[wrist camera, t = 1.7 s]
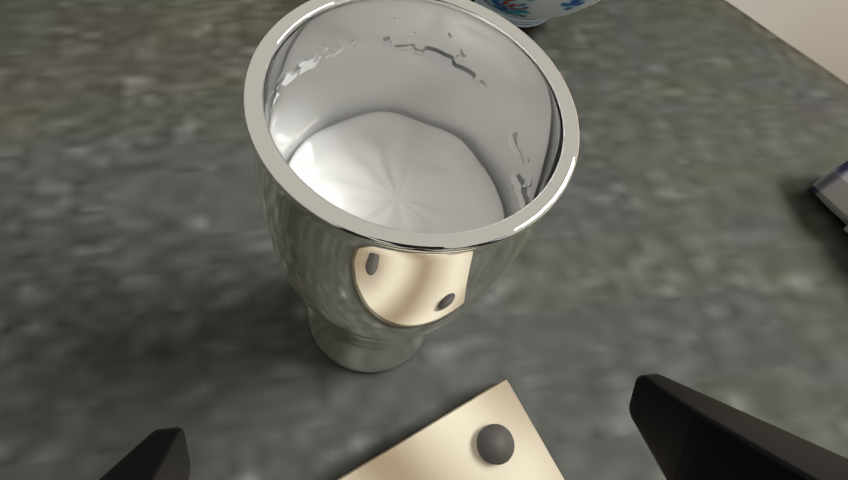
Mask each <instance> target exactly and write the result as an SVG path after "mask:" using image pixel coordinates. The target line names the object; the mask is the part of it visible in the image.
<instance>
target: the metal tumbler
mask: <svg viewBox="0 0 848 480" xmlns="http://www.w3.org/2000/svg"><path fill="white" fill-rule="evenodd" d="M243 103H244V114H245V120H246V125H247V129H248V132H249V135H250V138H251V142H252V148H253V156H254V164H255V172H256V178H257V184H258V190H259V196H260V201H261V206H262V210H263V214H264V218H265V222H266V226H267V230H268V234H269V237H270V240H271V243H272V246H273V248H274V251H275V253H276V255H277V258H278V260H279V263H280V265H281V267H282V269H283V272H284V273H285V275H286V277H287V279H288V281H289V282H290V284H291V285H292V286H293V288H294V289H295V291H296V292H297V293H298V294H299V296H300V297H301V298H302V300H303V301H304V302H305V303H306V305H307V306H308V320H309V326H310V330H311V333H312V335H313V337H314V339H315V341H316V343H317V344H318V346H319V347H320V349H321V350H322V351H323V352H324V353H325V354H326V355H327V356H328V357H329V358H330V359H331V360H333V361H334V362H335V363H337V364H339V365H340V366H342V367H345V368H347V369H350V370H353V371H358V372H366V373H373V372H381V371H386V370H389V369H392V368H395V367H397V366H399V365H401V364H402V363H404V362H405V361H407V360H408V359H409V358H411V357H412V356H413V355H414V354H415V353H416V352H417V351H418V349H419V348H420V347H421V345H422V344H423V342H424V340H425V338H426V336H427V334H428V333H429V332H431V331H434V330H435V329H437V328H439V327H441V326H443V325H445V324H447V323H449V322H451V321H452V320H454V319H456V318H457V317H459V316H460V315H461V314H463V313H464V312H465V311H467V310H468V309H469V308H470V307H471V306H472V305H473V304H475V303H476V302H477V301H478V300H479V299H480V298H481V297H482V296H483V295H484V294H486V293H487V292H488V291H489V290H490V289H491V287H492V286H493V285H494V284H495V283H496V282H497V280H498V279H499V278H500V277H501V276H502V274H503V273H504V272H505V271H506V270H507V269H508V267H509V266H510V265H511V264H512V262H513V261H514V260H515V258H516V257H517V255H518V254H519V253H520V251H521V250H522V248H523V247H524V246H525V244H526V243H527V241H528V240H529V238H530V237H531V235H532V234H533V232H534V231H535V229H536V228H537V226H538V225H539V223H540V222H541V220H542V219H543V217H544V216H545V214H546V213H547V212H548V211H549V210H550V209H551V208H552V207H553V206H554V205H555V204H556V202H557V201H558V200H559V199H560V197H561V196H562V194H563V193H564V191H565V189H566V188H567V186H568V184H569V182H570V180H571V177H572V175H573V172H574V169H575V166H576V163H577V158H578V153H579V143H580V134H579V123H578V117H577V112H576V108H575V105H574V101H573V99H572V96H571V93H570V91H569V89H568V87H567V85H566V83H565V81H564V79H563V77H562V75H561V74H560V72H559V71H558V69H557V68H556V66H555V65H554V63H553V62H552V61H551V59H550V58H549V57H548V56H547V55H546V53H545V52H544V51H543V50H542V49H541V48H540V47H539V46H538V45H537V44H536V43H535V42H534V41H533V40H532V39H531V38H530V37H529V36H528V35H526V34H525V33H524V32H523V31H522V30H520V29H519V28H518V27H516V26H515V25H514V24H512V23H511V22H509V21H508V20H506V19H505V18H503V17H502V16H500V15H498V14H497V13H495V12H493V11H491V10H489V9H487V8H485V7H484V6H481V5H479V4H477V3H475V2H472V1H470V0H309V1H307V2H306V3H304V4H302V5H300V6H298V7H297V8H295V9H294V10H292V11H291V12H289V13H288V14H287V15H285V16H284V17H283V18H282V19H280V20H279V21H278V22H277V23H276V24H275V25H274V26H273V27H272V28H271V29H270V31H269V32H268V33H267V34H266V35H265V37H264V38H263V39H262V41H261V42H260V44H259V45H258V47H257V49H256V50H255V52H254V54H253V56H252V59H251V61H250V64H249V67H248V70H247V73H246V78H245V84H244V95H243Z"/></svg>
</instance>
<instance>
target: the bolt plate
mask: <svg viewBox="0 0 848 480" xmlns="http://www.w3.org/2000/svg"><path fill="white" fill-rule="evenodd" d="M337 480H564V478H563V477H562V475H561V473H560V471H559V470H558V468H557V466H556V464H555V463H554V461H553V459H552V458H551V456H550V454H549V452H548V451H547V449H546V447H545V445H544V444H543V442H542V440H541V438H540V437H539V435H538V433H537V431H536V430H535V428H534V426H533V424H532V423H531V421H530V419H529V417H528V416H527V414H526V412H525V410H524V409H523V407H522V405H521V404H520V402H519V400H518V398H517V397H516V395H515V393H514V391H513V390H512V388H511V386H510V384H509V383H508V381H507V380H504V381H502V382H499V383H497V384H496V385H494V386H492V387H491V388H489V389H487V390H486V391H484V392H482V393H481V394H479V395H477V396H476V397H474V398H472V399H471V400H469V401H467V402H466V403H464V404H462V405H461V406H459V407H457V408H456V409H454V410H452V411H451V412H449V413H447V414H446V415H444V416H442V417H441V418H439V419H437V420H436V421H434V422H432V423H431V424H429V425H427V426H426V427H424V428H422V429H421V430H419V431H417V432H416V433H414V434H412V435H411V436H409V437H407V438H406V439H404V440H402V441H401V442H399V443H397V444H396V445H394V446H392V447H391V448H389V449H387V450H386V451H384V452H382V453H381V454H379V455H377V456H376V457H374V458H372V459H371V460H369V461H367V462H366V463H364V464H362V465H361V466H359V467H357V468H356V469H354V470H352V471H351V472H349V473H347V474H346V475H344V476H342V477H341V478H339V479H337Z"/></svg>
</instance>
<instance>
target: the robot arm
mask: <svg viewBox="0 0 848 480" xmlns="http://www.w3.org/2000/svg"><path fill="white" fill-rule="evenodd" d="M629 410H630V414H631V417H632V419H633V421H634V423H635V425H636V426H637V428H638V430H639V432H640V433H641V435H642V437H643V439H644V441H645V442H646V444H647V446H648V448H649V449H650V451H651V453H652V455H653V457H654V458H655V460H656V462H657V464H658V465H659V467H660V469H661V471H662V473H663V474H664V476H665V478H666V479H667V480H848V459H847V458H845V457H843V456H840V455H838V454H836V453H834V452H831V451H829V450H827V449H825V448H822V447H820V446H818V445H816V444H813V443H811V442H809V441H807V440H805V439H802V438H800V437H798V436H796V435H793V434H791V433H789V432H787V431H784V430H782V429H780V428H778V427H775V426H773V425H771V424H769V423H767V422H764V421H762V420H760V419H758V418H755V417H753V416H751V415H749V414H746V413H744V412H742V411H740V410H738V409H735V408H733V407H731V406H729V405H726V404H724V403H722V402H720V401H717V400H715V399H713V398H711V397H708V396H706V395H704V394H702V393H700V392H697V391H695V390H693V389H691V388H688V387H686V386H684V385H682V384H679V383H677V382H675V381H673V380H670V379H668V378H666V377H664V376H662V375H659V374H648V375H641V376H639V377H638V378H637V379H636V382H635V385H634V389H633V393H632V397H631V401H630V406H629ZM189 476H190V460H189V455H188V450H187V444H186V439H185V434H184V431H183V430H182V429H181V428H179V427H175V428H166V429H159V430H156V431H154V432H152V433H151V434H150V435H149V436H148V437H146V438H145V439H144V440H143V441H142V442H141V443H140V444H139V445H137V446H136V447H135V448H134V449H133V450H132V451H131V452H130V453H128V454H127V455H126V456H125V457H124V458H123V459H122V460H121V461H119V462H118V463H117V464H116V465H115V466H114V467H113V468H112V469H110V470H109V471H108V472H107V473H106V474H105V475H104V476H103V477H101V478H100V479H99V480H189Z"/></svg>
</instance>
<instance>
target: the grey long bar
mask: <svg viewBox="0 0 848 480" xmlns="http://www.w3.org/2000/svg"><path fill="white" fill-rule="evenodd" d="M810 190H811V191H812V192H813V193H814V194H815V195H816V196H817V197H818V198H819V199H820V200H821V201H822V202H823V203H824V204H825V205H826V206H827V207H828V208H829V209H830V210H831V211H832V212H833V213H834V214H835V215H836V216H837V217H839V218H840V219H841V220H842V221H843V222H844V223H845V224H846V225H847V226H846V227H844V228H843V229H844V230H845V231H846V232H848V161H846V162H844V163H843V164H841V165H839V166H838V167H836V168H834V169H833V170H831V171H830V172H829V173H827V174H826V175H825V176H823V177H822V178H821V179H819V180H818V181H817V182H815V183H814V184H812V186H811V188H810Z"/></svg>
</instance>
